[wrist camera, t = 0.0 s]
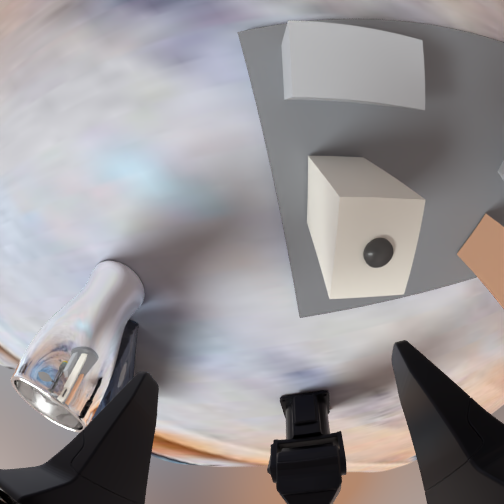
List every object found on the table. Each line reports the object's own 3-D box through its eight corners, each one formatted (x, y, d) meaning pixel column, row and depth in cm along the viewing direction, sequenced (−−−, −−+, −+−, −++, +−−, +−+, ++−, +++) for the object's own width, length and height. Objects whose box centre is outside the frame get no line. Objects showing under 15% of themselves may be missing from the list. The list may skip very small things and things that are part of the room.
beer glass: (124, 246, 24) (32, 374, 11) (161, 304, 27) (108, 439, 14) (78, 267, 26) (-4, 374, 12) (114, 317, 29) (57, 429, 16)
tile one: (358, 222, 21) (405, 296, 13) (306, 222, 21) (330, 301, 13) (363, 157, 18) (427, 201, 10) (308, 155, 18) (341, 198, 10)
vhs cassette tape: (118, 313, 28) (81, 383, 20) (143, 323, 29) (110, 396, 20) (115, 389, 37) (95, 440, 28) (132, 396, 37) (114, 448, 29)
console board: (525, 255, 22) (556, 287, 16) (298, 310, 27) (305, 368, 21) (529, 54, 11) (575, 59, 5) (238, 35, 15) (225, 4, 9)
